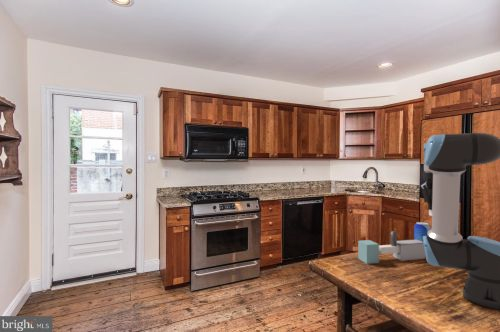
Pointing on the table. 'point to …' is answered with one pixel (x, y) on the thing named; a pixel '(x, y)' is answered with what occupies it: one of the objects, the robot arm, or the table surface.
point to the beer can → (421, 230)
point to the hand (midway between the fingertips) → (432, 215)
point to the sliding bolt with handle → (390, 248)
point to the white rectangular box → (410, 250)
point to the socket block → (368, 251)
